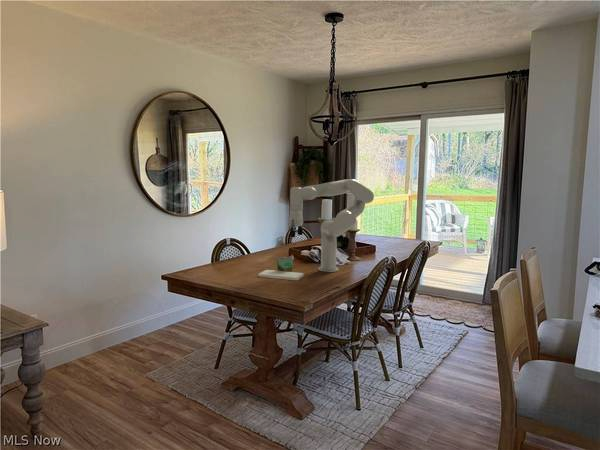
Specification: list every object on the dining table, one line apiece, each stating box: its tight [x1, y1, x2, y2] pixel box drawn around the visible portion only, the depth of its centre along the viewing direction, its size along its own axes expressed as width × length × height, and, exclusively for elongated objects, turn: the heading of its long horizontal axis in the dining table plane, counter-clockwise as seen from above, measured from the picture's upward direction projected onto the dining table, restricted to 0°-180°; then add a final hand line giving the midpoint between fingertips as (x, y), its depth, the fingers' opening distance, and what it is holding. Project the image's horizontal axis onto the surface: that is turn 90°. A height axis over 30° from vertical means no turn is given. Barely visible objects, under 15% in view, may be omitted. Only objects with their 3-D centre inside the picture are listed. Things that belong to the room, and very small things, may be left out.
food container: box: [275, 254, 295, 272], centre depth 248 cm, size 12×6×10 cm, turn 129°
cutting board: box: [258, 269, 305, 281], centre depth 240 cm, size 12×24×2 cm, turn 71°
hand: (296, 235), depth 248 cm, fingers open, 9 cm apart
